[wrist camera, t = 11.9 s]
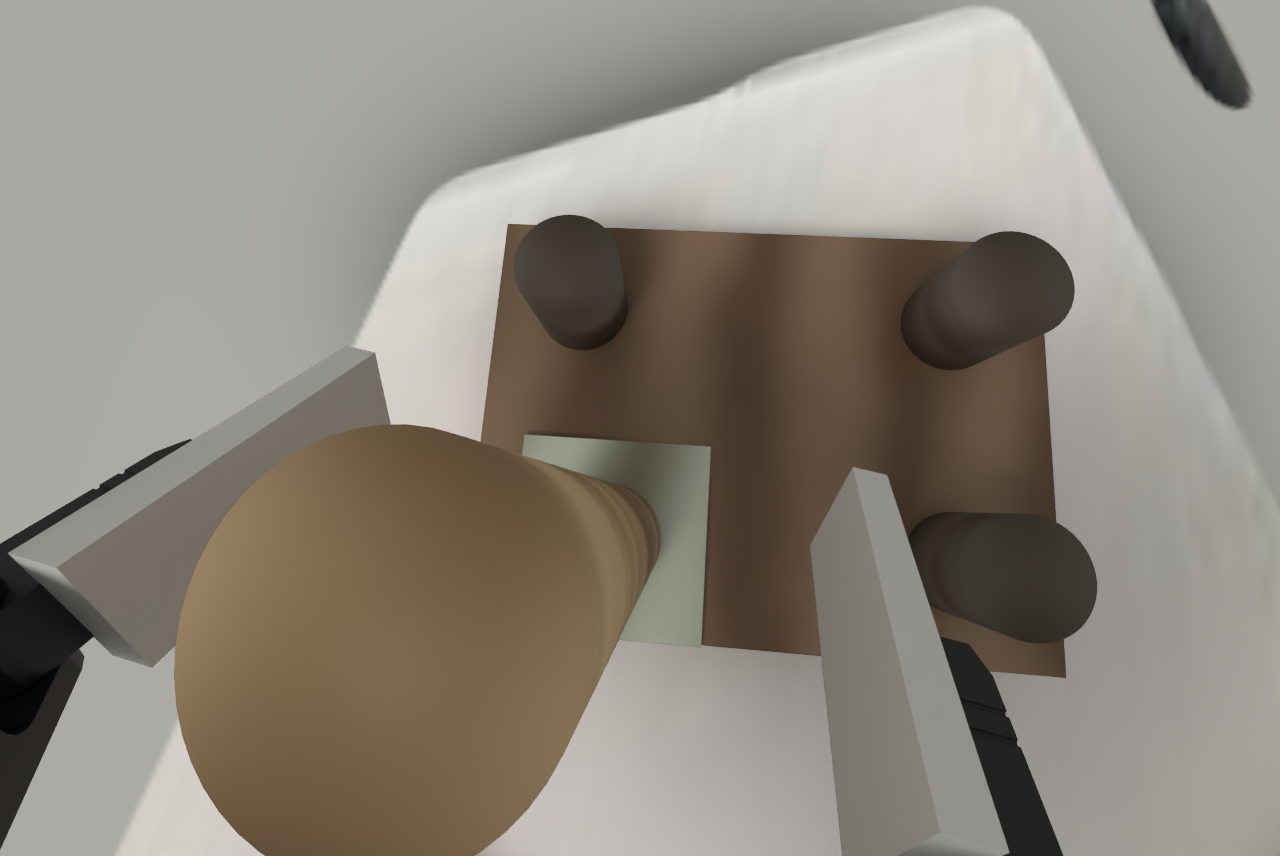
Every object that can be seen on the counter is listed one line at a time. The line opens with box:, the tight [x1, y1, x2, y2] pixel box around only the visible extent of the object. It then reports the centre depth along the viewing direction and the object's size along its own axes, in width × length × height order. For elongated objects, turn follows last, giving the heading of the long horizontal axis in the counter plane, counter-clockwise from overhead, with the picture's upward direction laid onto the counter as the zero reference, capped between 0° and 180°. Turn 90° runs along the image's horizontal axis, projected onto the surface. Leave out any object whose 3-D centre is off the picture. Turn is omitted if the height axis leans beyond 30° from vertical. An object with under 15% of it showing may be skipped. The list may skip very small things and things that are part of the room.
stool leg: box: [174, 425, 661, 856], centre depth 12 cm, size 4×4×15 cm
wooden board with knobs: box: [481, 215, 1097, 678], centre depth 20 cm, size 24×18×7 cm
